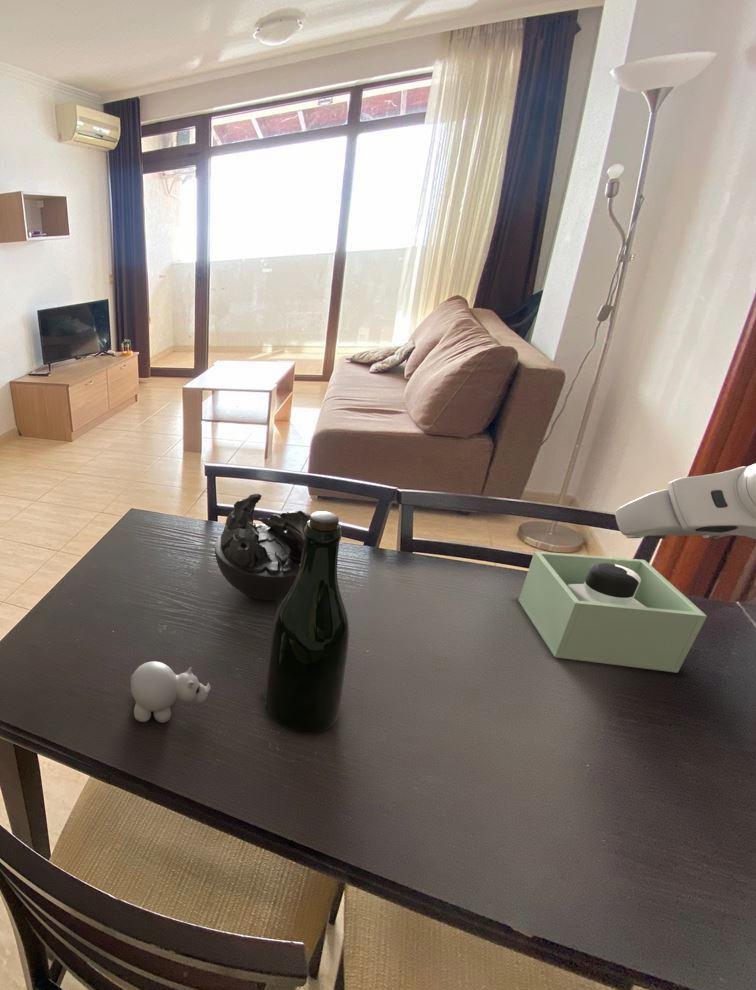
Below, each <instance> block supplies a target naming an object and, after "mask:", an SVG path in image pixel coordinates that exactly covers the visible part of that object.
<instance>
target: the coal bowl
mask: <svg viewBox="0 0 756 990" xmlns="http://www.w3.org/2000/svg"><path fill="white" fill-rule="evenodd" d="M262 496H263V495H261V494H260V493H257V492H256V493H255V492H254V493H252V494H250V495H248V497H246V498H245V497H244V498H242V499H240V500H237V501H236V502H235V503H234V504H233V508H234V510H232V511H231V512H229V514H228V515H227V517H226V519H225V525H224V528H223V531H222V533H221V534H220V535H219V537H217V539H216V540H215V544H214V554H215V555H214V556H215V560H216V563H217V566H218V568H219V570H220V572H221V574H222V575H223V577H224V578H225V580H226V581H227V582H228V583H229V584H230V585H231V586H232V587H233V588H234V589H236V590H237V591H239V592H240V593H242V594H244V595H245V596H248V597H251V598H254V599H256V600H263V601H277V600H282V599H283V597H284V596H285V594H286V593H287V591H288V590H289V588H290V586H291V585H292V583H293V581H294V580H295V577H296V575H297V573H298V569H299V566H300V562H301V557H302V551H303V545H304V528H305V526H306V523H307V522H308V521H310V517H311V514H309V513H308V512H305V511H302V510H298V511H297V510H289V511H285V512H282V513H280V514H270V516H269V518H268V517H263V518H259V521H260V522H261V524H258V523H257V524H256V523H254V513H255V508H256V506H257V504H258V503H259V501H261V498H262Z"/></svg>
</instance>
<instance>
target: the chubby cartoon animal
mask: <svg viewBox="0 0 756 990" xmlns="http://www.w3.org/2000/svg"><path fill="white" fill-rule="evenodd" d="M129 679H130V692H131V694H132V697H133V699H134V701H135V704H134V708H133V716H134V718H135V720H136V721H138V722H139V723H147V722H148V721H149V720H150V719H151V717H152V712H153V717H154V719H155V720H156V721H157V722H158V723H161V724H163V723H168V721H170V719H171V718H172V717H171V716H172V712H171V706H172V705H173V704H174V703H175V701H176V700H177V699H178V700H180V701H181V702H184V703H191V702H195V703H197V704H201V703H204V702H205V701H206V700H207V699H208V697H209V692H210V691H211V687H212V686H211V684H210V683H209V682H207V684H206V685H204V684H203V683H201V682H199V678H198V677H197V676H196V675H195V674H194V673H193V667H192V666H190V667H189V668H188V669H187V670H186V671H185V672H182V673H179V674H176V673H175V672H174V671H173V669H172V668H171V667H169V666H168V665H167V664H165V663H163V662H161V661H153V660H152V661H148V662H144V663H142V664H141V665H140V666H138V667H137V668H136V669H135V671H134V672H133V674H131V675H130V678H129Z"/></svg>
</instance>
